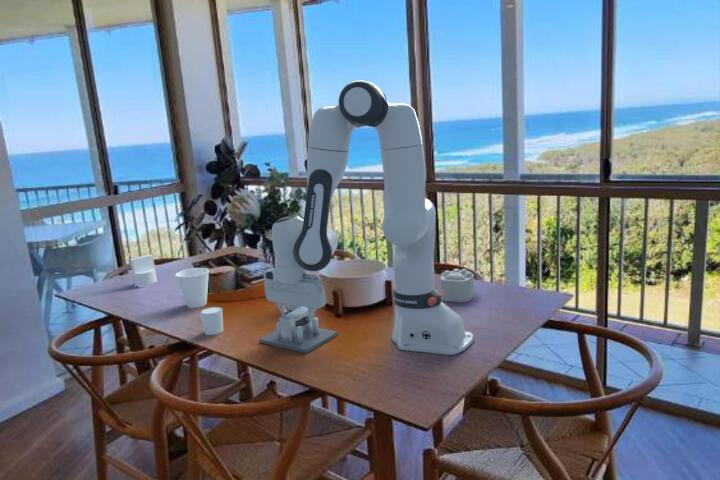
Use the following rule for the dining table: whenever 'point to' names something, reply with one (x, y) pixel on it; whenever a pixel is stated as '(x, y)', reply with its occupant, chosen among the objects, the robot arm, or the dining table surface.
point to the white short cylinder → (212, 320)
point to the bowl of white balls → (457, 285)
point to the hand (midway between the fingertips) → (297, 318)
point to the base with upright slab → (143, 270)
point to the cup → (194, 286)
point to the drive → (295, 324)
